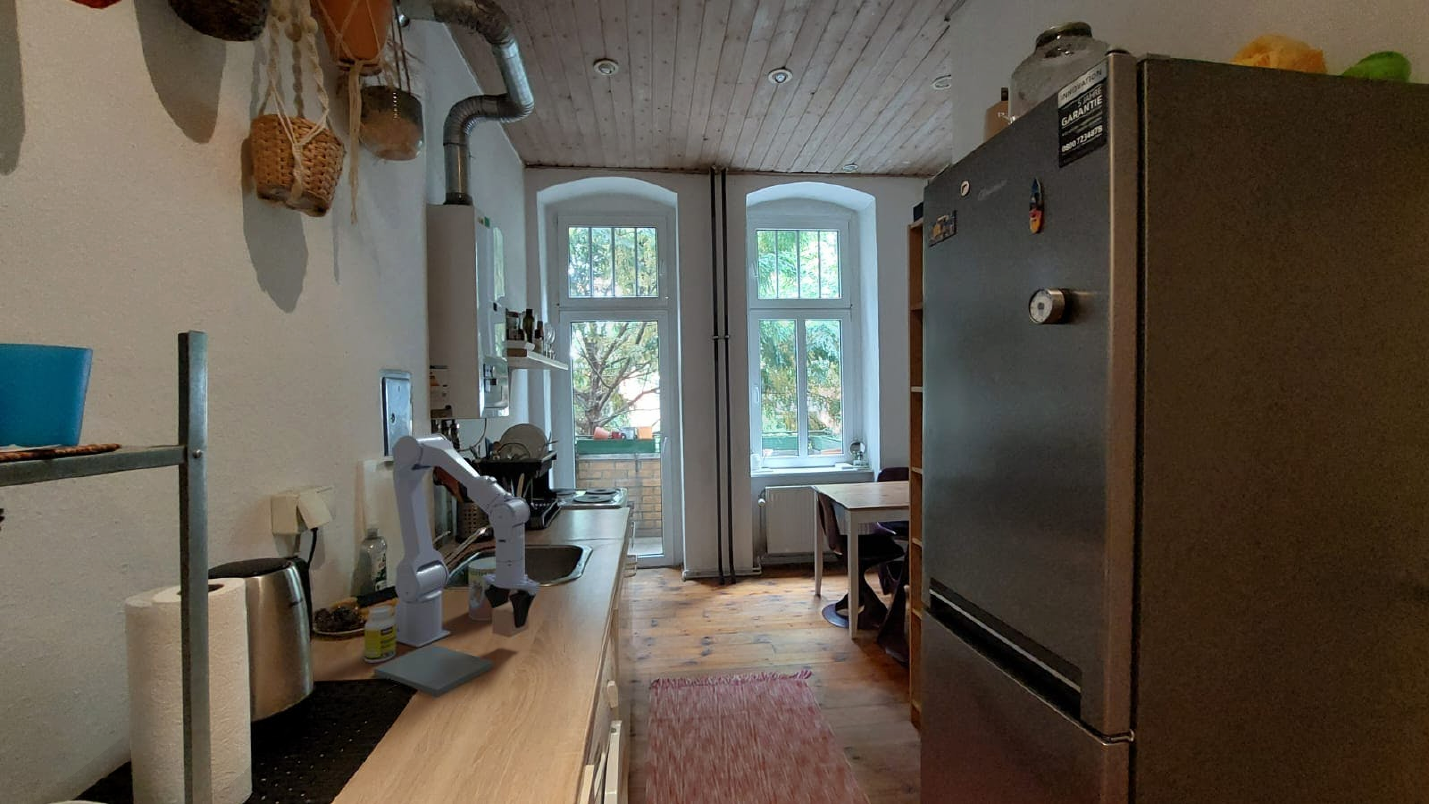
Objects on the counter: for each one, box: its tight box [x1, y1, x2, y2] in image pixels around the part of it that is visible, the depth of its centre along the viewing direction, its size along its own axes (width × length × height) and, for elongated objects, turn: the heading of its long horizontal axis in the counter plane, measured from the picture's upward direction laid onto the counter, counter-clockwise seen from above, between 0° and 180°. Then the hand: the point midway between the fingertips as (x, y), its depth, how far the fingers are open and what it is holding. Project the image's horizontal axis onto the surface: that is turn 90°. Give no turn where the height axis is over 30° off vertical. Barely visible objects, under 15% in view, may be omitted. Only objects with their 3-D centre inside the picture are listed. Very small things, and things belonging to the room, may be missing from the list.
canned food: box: [467, 556, 517, 621], centre depth 139 cm, size 11×11×12 cm
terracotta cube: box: [491, 601, 530, 638], centre depth 118 cm, size 5×5×5 cm
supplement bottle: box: [364, 604, 397, 664], centre depth 114 cm, size 5×5×10 cm
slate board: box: [373, 643, 494, 697], centre depth 108 cm, size 18×12×1 cm, turn 62°
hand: (510, 623), depth 118 cm, fingers closed on terracotta cube, 5 cm apart
